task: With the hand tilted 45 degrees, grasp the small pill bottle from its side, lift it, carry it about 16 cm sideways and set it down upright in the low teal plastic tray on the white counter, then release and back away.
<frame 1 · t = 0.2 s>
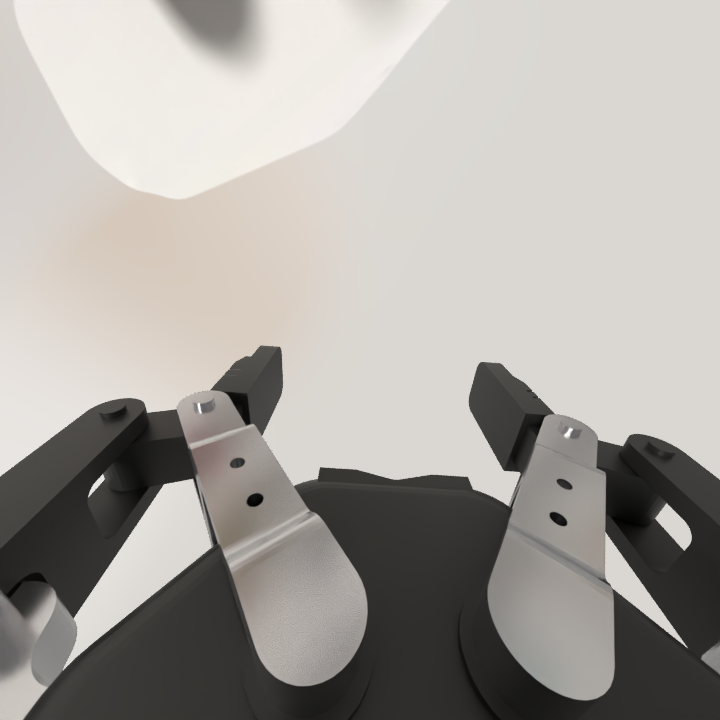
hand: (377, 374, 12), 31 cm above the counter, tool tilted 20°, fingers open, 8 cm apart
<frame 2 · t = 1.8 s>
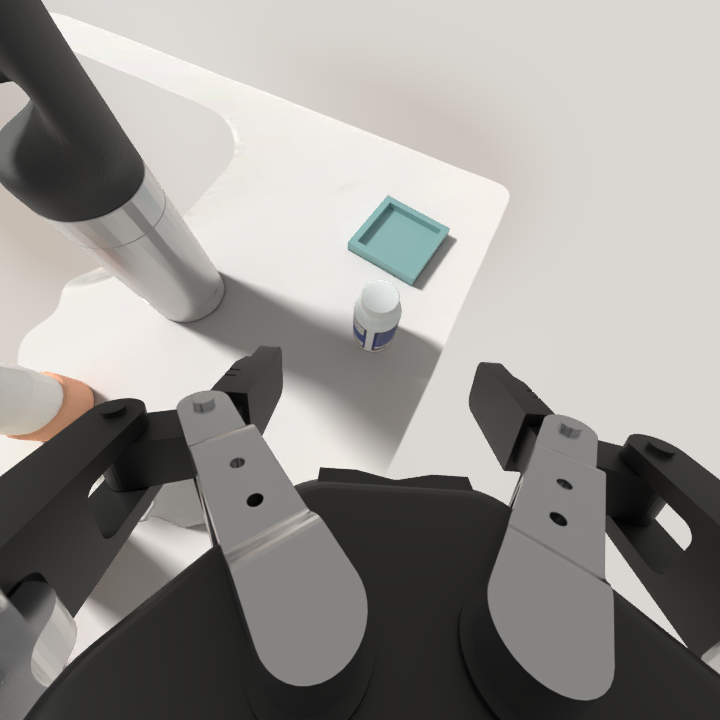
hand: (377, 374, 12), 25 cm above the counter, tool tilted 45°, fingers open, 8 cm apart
flask: (196, 490, 33), on the counter
tray: (398, 242, 45), on the counter
salt shaker 2: (62, 409, 35), on the counter
pill bottle: (372, 334, 40), on the counter
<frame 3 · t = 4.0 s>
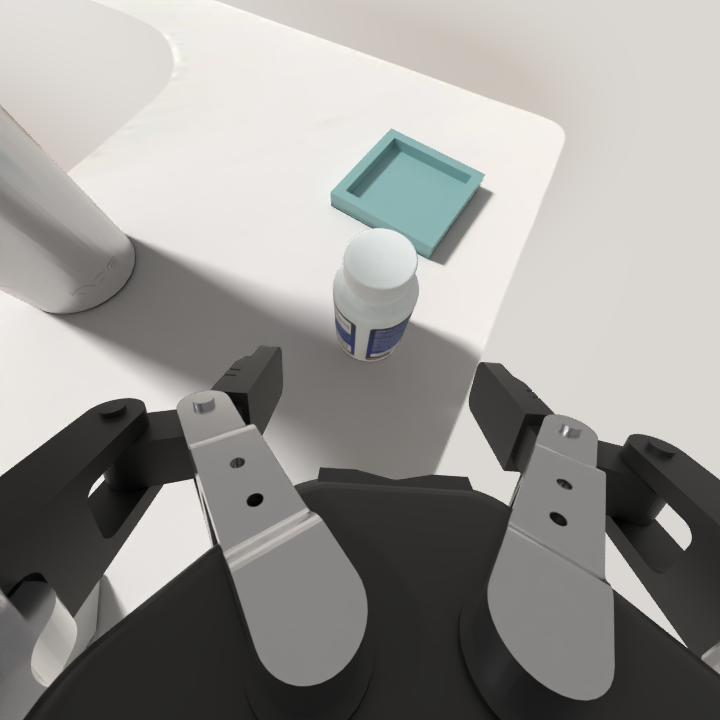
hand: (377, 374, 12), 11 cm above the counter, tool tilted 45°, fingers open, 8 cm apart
flask: (43, 619, 18), on the counter
tray: (407, 196, 30), on the counter
pill bottle: (368, 334, 25), on the counter
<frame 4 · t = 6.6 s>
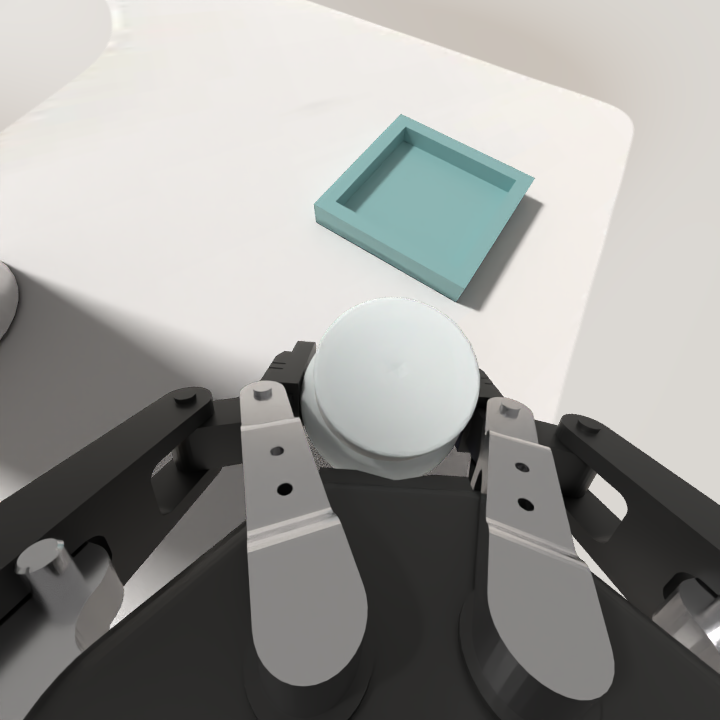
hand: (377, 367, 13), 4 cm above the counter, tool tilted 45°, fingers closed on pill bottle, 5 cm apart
tray: (423, 208, 21), on the counter
pill bottle: (368, 423, 16), on the counter, touching gripper
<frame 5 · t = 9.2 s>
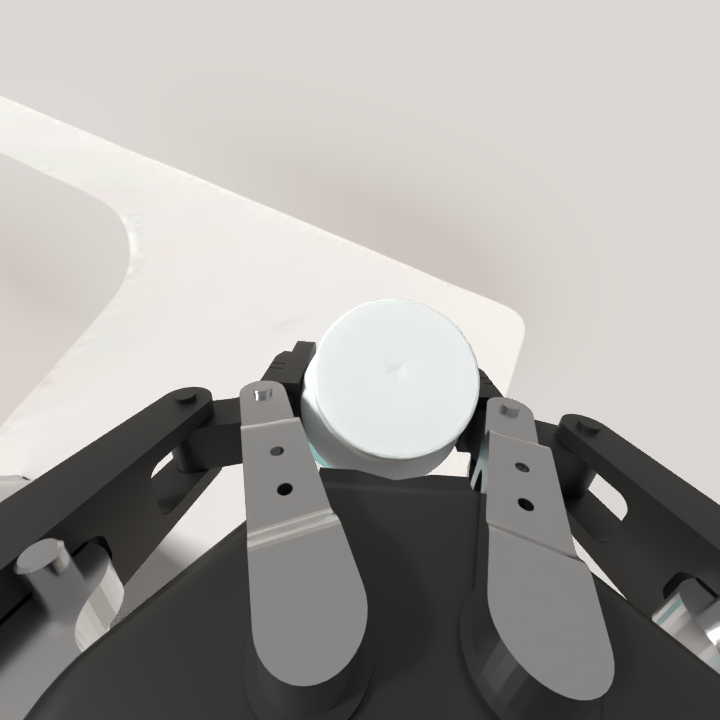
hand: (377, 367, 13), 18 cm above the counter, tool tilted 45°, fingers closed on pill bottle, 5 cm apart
pill bottle: (368, 424, 16), point 14 cm above the counter, touching gripper
when the fingers open (6 cm above the counter, at t = 12.2 s): pill bottle drops 1 cm, resting on tray.
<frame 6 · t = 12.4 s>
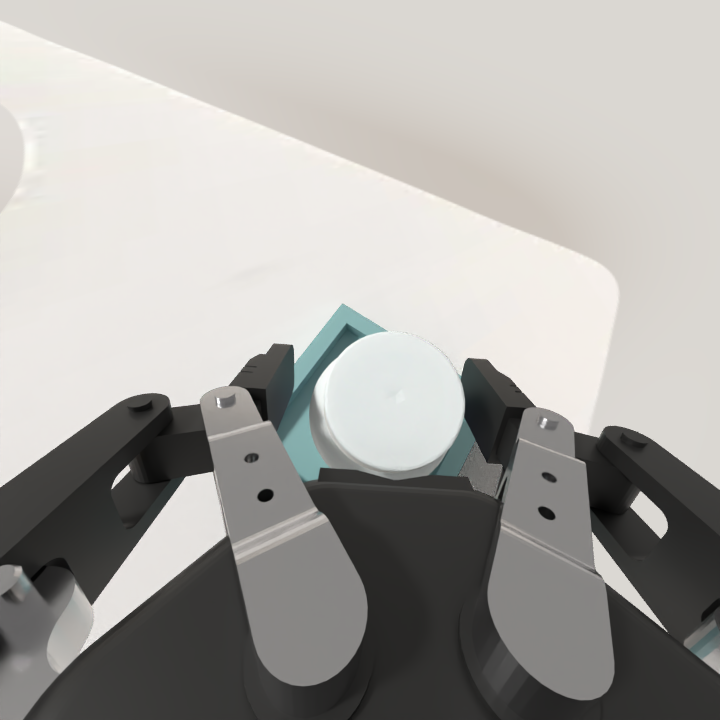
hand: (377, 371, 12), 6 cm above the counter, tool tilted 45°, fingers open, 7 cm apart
tray: (365, 427, 18), on the counter
pill bottle: (367, 430, 18), resting on tray
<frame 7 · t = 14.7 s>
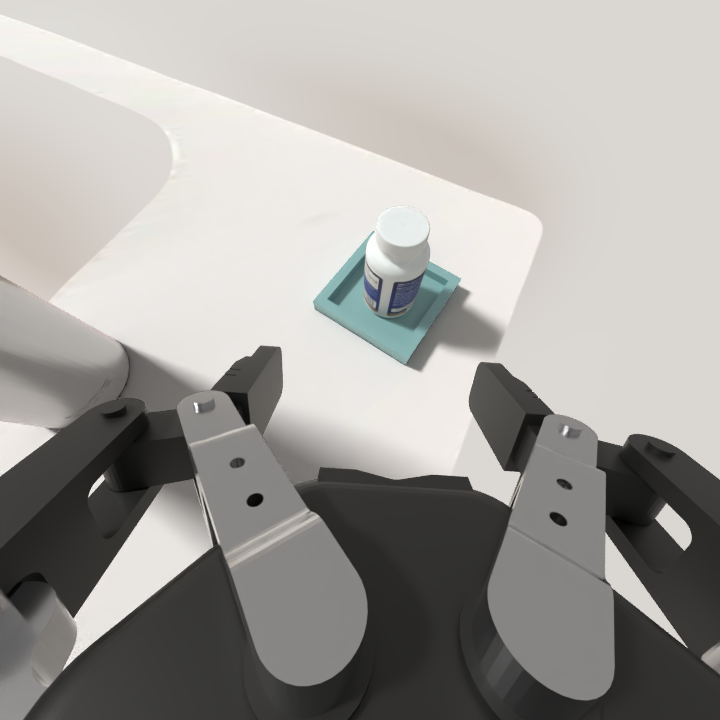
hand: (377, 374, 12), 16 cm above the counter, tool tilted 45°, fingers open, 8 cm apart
tray: (387, 297, 32), on the counter
pill bottle: (388, 297, 31), resting on tray
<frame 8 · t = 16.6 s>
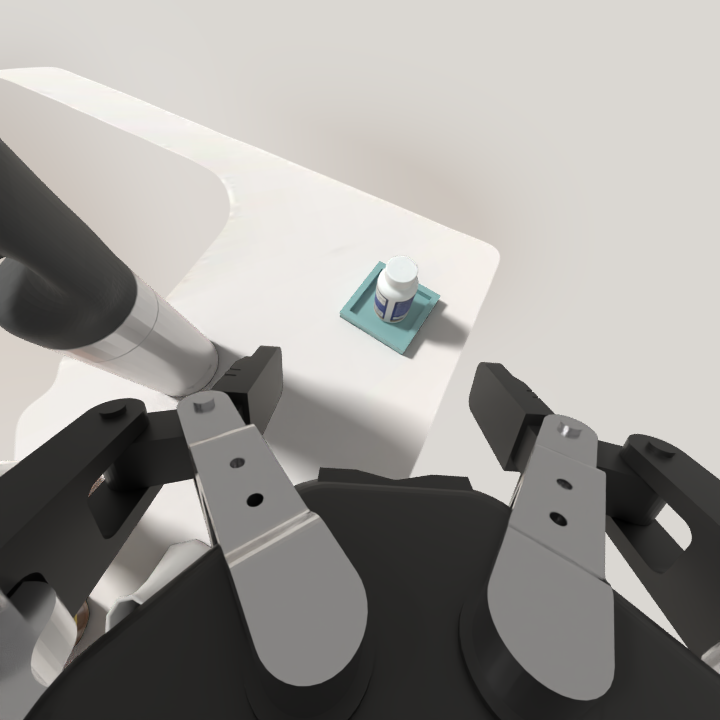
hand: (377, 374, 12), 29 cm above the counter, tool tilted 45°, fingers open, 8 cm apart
sauce bottle: (65, 619, 32), on the counter
flask: (188, 574, 34), on the counter
tray: (389, 308, 46), on the counter
pill bottle: (390, 308, 45), resting on tray
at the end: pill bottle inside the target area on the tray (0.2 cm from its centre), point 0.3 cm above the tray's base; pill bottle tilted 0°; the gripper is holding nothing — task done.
